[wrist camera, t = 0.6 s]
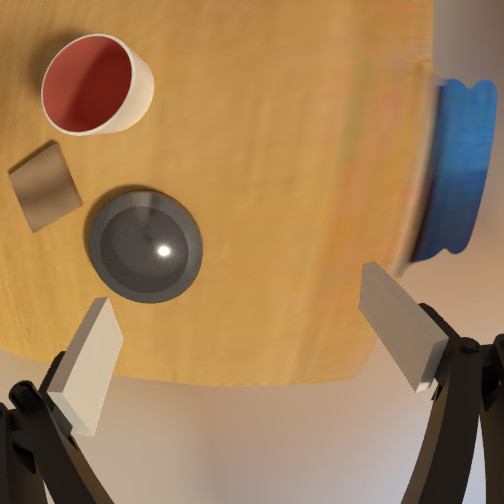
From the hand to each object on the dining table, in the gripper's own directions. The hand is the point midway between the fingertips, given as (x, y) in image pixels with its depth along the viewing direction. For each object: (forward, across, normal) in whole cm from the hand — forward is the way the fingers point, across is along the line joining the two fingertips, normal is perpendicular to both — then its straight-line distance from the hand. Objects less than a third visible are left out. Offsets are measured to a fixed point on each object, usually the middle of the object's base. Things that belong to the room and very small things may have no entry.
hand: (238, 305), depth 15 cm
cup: (+24, -12, +15) cm, 31 cm away
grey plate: (+24, -11, -5) cm, 27 cm away
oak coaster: (+24, -24, +5) cm, 34 cm away
